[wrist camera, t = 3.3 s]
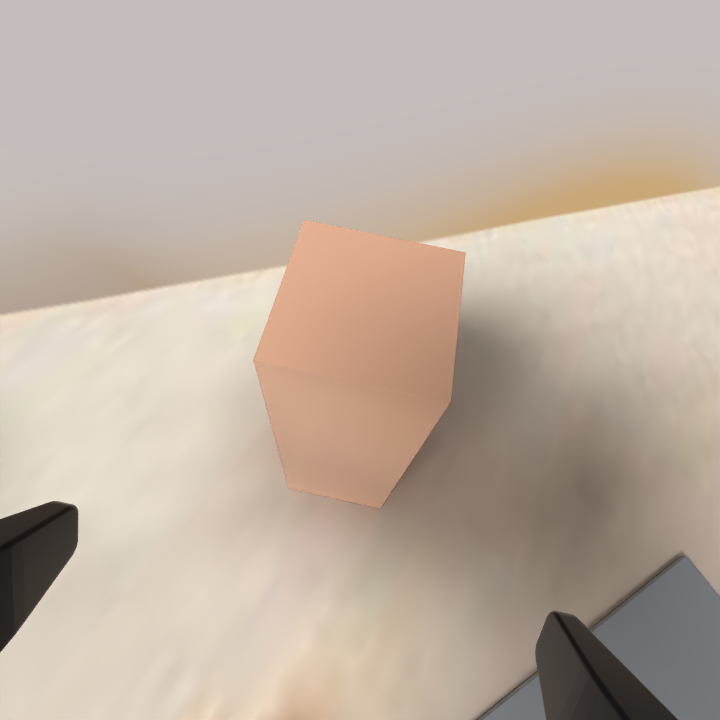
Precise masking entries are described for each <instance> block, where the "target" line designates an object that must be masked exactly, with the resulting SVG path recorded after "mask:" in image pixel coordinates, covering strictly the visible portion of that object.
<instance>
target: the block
mask: <svg viewBox="0 0 720 720" xmlns="http://www.w3.org/2000/svg"><path fill="white" fill-rule="evenodd" d="M465 254H466V253H465V252H460V251H455V250H450V249H445V248H440V247H435V246H431V245H426V244H421V243H416V242H411V241H406V240H400V239H396V238H391V237H386V236H381V235H376V234H371V233H366V232H361V231H356V230H351V229H346V228H342V227H337V226H331V225H327V224H322V223H317V222H312V221H307V220H304V221H303V224H302V227H301V230H300V232H299V235H298V238H297V241H296V243H295V246H294V249H293V252H292V255H291V257H290V260H289V263H288V265H287V268H286V271H285V274H284V276H283V279H282V282H281V285H280V288H279V290H278V293H277V296H276V299H275V301H274V304H273V307H272V310H271V312H270V315H269V318H268V321H267V324H266V326H265V329H264V332H263V335H262V337H261V340H260V343H259V346H258V348H257V351H256V354H255V357H254V360H253V361H254V364H255V368H256V372H257V375H258V379H259V382H260V386H261V390H262V393H263V397H264V400H265V404H266V407H267V411H268V415H269V418H270V422H271V425H272V429H273V433H274V436H275V440H276V443H277V447H278V451H279V454H280V458H281V461H282V465H283V469H284V472H285V476H286V479H287V483H288V487H289V489H292V490H297V491H301V492H306V493H311V494H315V495H320V496H324V497H329V498H334V499H338V500H343V501H347V502H352V503H357V504H361V505H366V506H371V507H375V508H381V507H382V505H383V504H384V502H385V501H386V499H387V498H388V496H389V495H390V493H391V492H392V490H393V488H394V487H395V485H396V484H397V482H398V481H399V479H400V478H401V476H402V475H403V473H404V472H405V470H406V469H407V467H408V466H409V464H410V463H411V461H412V460H413V458H414V457H415V455H416V454H417V452H418V451H419V449H420V448H421V446H422V445H423V443H424V442H425V440H426V439H427V437H428V436H429V434H430V433H431V431H432V430H433V428H434V427H435V425H436V423H437V422H438V420H439V419H440V417H441V416H442V414H443V413H444V411H445V410H446V408H447V407H448V405H449V404H450V402H451V396H452V386H453V376H454V366H455V355H456V345H457V335H458V325H459V315H460V304H461V294H462V284H463V274H464V264H465Z"/></svg>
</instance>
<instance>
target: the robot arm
mask: <svg viewBox="0 0 720 720" xmlns="http://www.w3.org/2000/svg"><path fill="white" fill-rule="evenodd" d="M77 543H78V509H77V507H76V506H75V505H73V504H68V503H63V502H59V501H52V502H49V503H46V504H43V505H40V506H37V507H34V508H31V509H28V510H26V511H23V512H20V513H17V514H14V515H11V516H8V517H5V518H2V519H0V652H1V651H2V650H3V649H4V647H5V646H6V645H7V644H8V642H9V641H10V640H11V639H12V638H13V636H14V635H15V634H16V633H17V631H18V630H19V629H20V627H21V626H22V625H23V623H24V622H25V621H26V619H27V618H28V616H29V615H30V614H31V612H32V611H33V610H34V608H35V607H36V605H37V604H38V603H39V601H40V600H41V598H42V597H43V596H44V594H45V593H46V591H47V590H48V589H49V587H50V586H51V584H52V583H53V582H54V580H55V579H56V577H57V576H58V575H59V573H60V572H61V570H62V569H63V568H64V566H65V565H66V564H67V562H68V561H69V559H70V558H71V557H72V555H73V553H74V551H75V549H76V547H77ZM535 654H536V663H537V669H538V675H539V681H540V687H541V693H542V699H543V705H544V711H545V718H546V720H679V719H678V718H677V717H676V716H675V715H674V714H673V713H672V712H671V711H670V710H669V709H668V708H667V707H666V706H665V705H664V704H663V703H662V702H661V701H660V700H659V699H658V698H657V697H656V696H655V695H654V694H653V693H652V692H651V691H650V690H649V689H648V688H647V687H646V686H645V685H644V684H643V683H642V682H641V681H640V680H639V679H638V678H637V677H636V676H635V675H634V674H633V673H632V672H631V671H630V670H629V669H628V668H627V667H626V666H625V665H624V664H623V663H622V662H621V661H620V660H619V659H618V658H617V657H616V656H615V655H614V654H613V653H612V652H611V651H610V650H609V649H608V648H607V647H606V646H605V645H604V644H603V643H602V642H601V641H600V640H599V639H598V638H597V637H596V636H595V635H594V634H593V633H592V632H591V631H590V630H589V629H588V628H587V627H586V626H585V625H584V624H583V623H582V622H581V621H580V620H579V619H578V618H577V617H575V616H574V615H571V614H567V613H562V612H558V611H552V612H550V613H549V615H548V616H547V619H546V621H545V624H544V626H543V629H542V631H541V634H540V636H539V639H538V641H537V644H536V652H535Z"/></svg>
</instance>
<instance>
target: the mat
mask: <svg viewBox="0 0 720 720" xmlns="http://www.w3.org/2000/svg"><path fill="white" fill-rule="evenodd" d="M590 631H591V632H592V633H593V634H594V635H595V636H596V637H597V638H598V639H599V640H600V641H601V642H602V643H603V644H604V645H605V646H606V647H607V648H608V649H609V650H610V651H611V652H612V653H613V654H614V655H615V656H616V657H617V658H618V659H619V660H620V661H621V662H622V663H623V664H624V665H625V666H626V667H627V668H628V669H629V670H630V671H631V672H632V673H633V674H634V675H635V676H636V677H637V678H638V679H639V680H640V681H641V682H642V683H643V684H644V685H645V686H646V687H647V688H648V689H649V690H650V691H651V692H652V693H653V694H654V695H655V696H656V697H657V698H658V699H659V700H660V701H661V702H662V703H663V704H664V705H665V706H666V707H667V708H668V709H669V710H670V711H671V712H672V713H673V714H674V715H675V716H676V717H677V718H678V719H679V720H720V597H719V595H718V594H717V593H716V592H715V590H714V589H713V588H712V587H711V585H710V584H709V583H708V582H707V580H706V579H705V578H704V577H703V575H702V574H701V573H700V572H699V570H698V569H697V568H696V567H695V566H694V564H693V563H692V562H691V561H690V559H689V558H688V557H687V556H682V557H680V558H678V559H677V560H676V561H675V562H673V563H672V564H671V565H670V566H668V567H667V568H666V569H665V570H663V571H662V572H661V573H660V574H658V575H657V576H656V577H655V578H654V579H652V580H651V581H650V582H649V583H647V584H646V585H645V586H644V587H642V588H641V589H640V590H639V591H637V592H636V593H635V594H634V595H632V596H631V597H630V598H629V599H627V600H626V601H625V602H624V603H622V604H621V605H620V606H619V607H617V608H616V609H615V610H614V611H612V612H611V613H610V614H609V615H607V616H606V617H605V618H604V619H602V620H601V621H600V622H599V623H597V624H596V625H595V626H594V627H592V628H591V629H590ZM478 720H546V718H545V711H544V705H543V699H542V693H541V687H540V681H539V675H538V671H537V672H536V673H535V674H534V675H532V676H531V677H530V678H529V679H527V680H526V681H525V682H524V683H522V684H521V685H520V686H519V687H517V688H516V689H515V690H514V691H512V692H511V693H510V694H509V695H507V696H506V697H505V698H504V699H502V700H501V701H500V702H499V703H498V704H496V705H495V706H494V707H493V708H491V709H490V710H489V711H488V712H486V713H485V714H484V715H483V716H481V717H480V718H479V719H478Z"/></svg>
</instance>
